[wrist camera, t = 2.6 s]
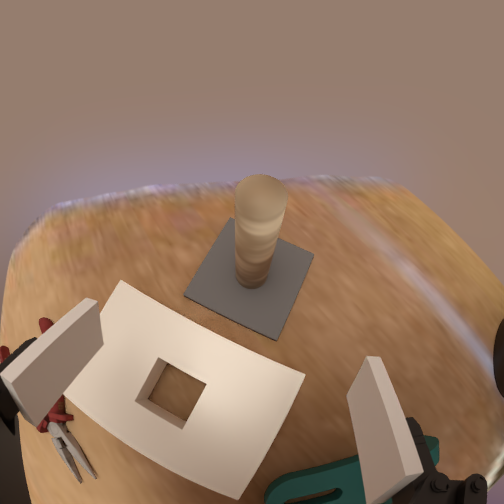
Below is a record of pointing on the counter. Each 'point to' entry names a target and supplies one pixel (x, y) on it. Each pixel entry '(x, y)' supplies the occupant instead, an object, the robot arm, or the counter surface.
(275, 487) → the bracket
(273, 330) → the mat
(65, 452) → the pliers
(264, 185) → the peg
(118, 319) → the hole block
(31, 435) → the counter surface
